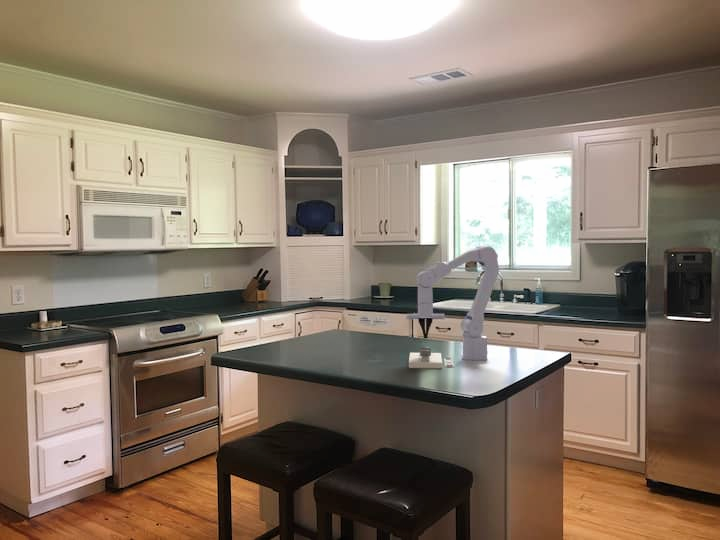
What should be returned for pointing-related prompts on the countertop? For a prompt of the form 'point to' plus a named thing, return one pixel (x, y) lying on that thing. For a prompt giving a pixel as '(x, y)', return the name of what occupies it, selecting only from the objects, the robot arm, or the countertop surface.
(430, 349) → the button
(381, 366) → the countertop surface
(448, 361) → the card
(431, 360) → the board
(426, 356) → the button
